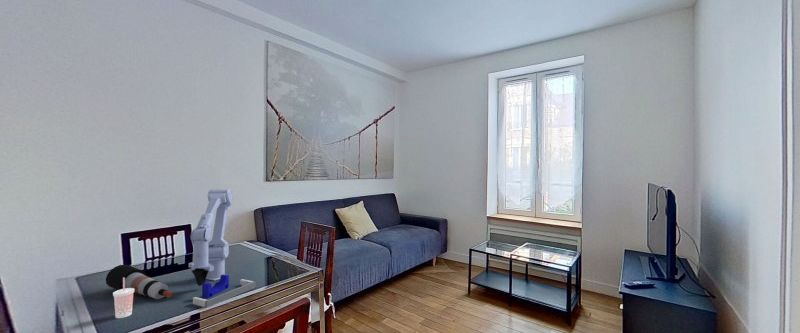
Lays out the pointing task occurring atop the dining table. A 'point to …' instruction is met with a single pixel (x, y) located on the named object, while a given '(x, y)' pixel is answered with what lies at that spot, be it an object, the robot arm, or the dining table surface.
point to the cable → (136, 282)
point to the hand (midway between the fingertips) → (201, 284)
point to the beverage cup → (123, 301)
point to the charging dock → (225, 294)
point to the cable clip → (215, 287)
